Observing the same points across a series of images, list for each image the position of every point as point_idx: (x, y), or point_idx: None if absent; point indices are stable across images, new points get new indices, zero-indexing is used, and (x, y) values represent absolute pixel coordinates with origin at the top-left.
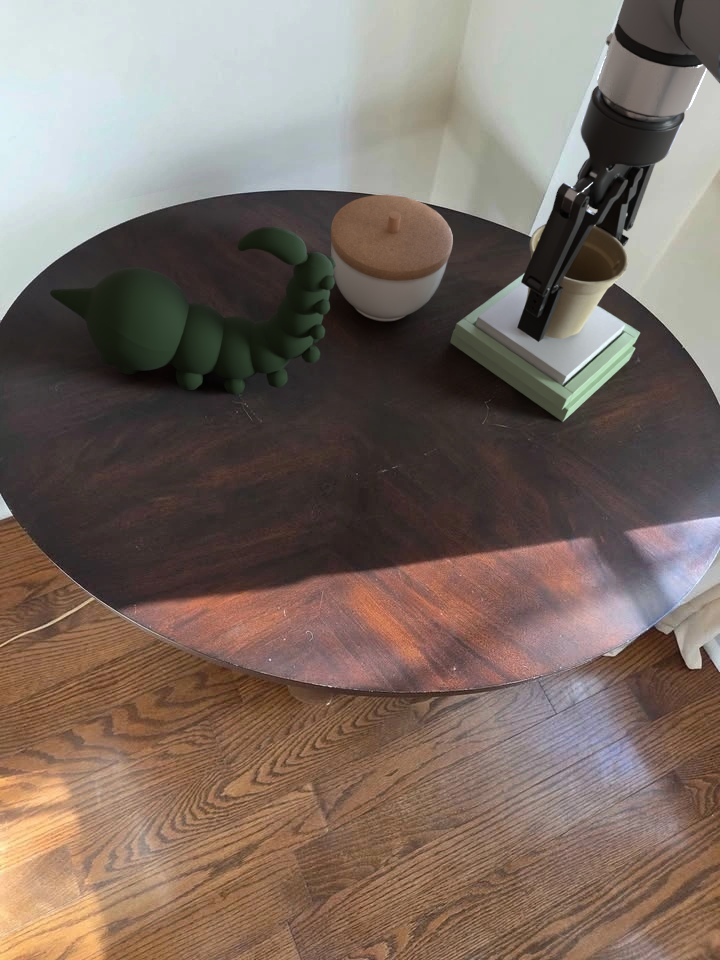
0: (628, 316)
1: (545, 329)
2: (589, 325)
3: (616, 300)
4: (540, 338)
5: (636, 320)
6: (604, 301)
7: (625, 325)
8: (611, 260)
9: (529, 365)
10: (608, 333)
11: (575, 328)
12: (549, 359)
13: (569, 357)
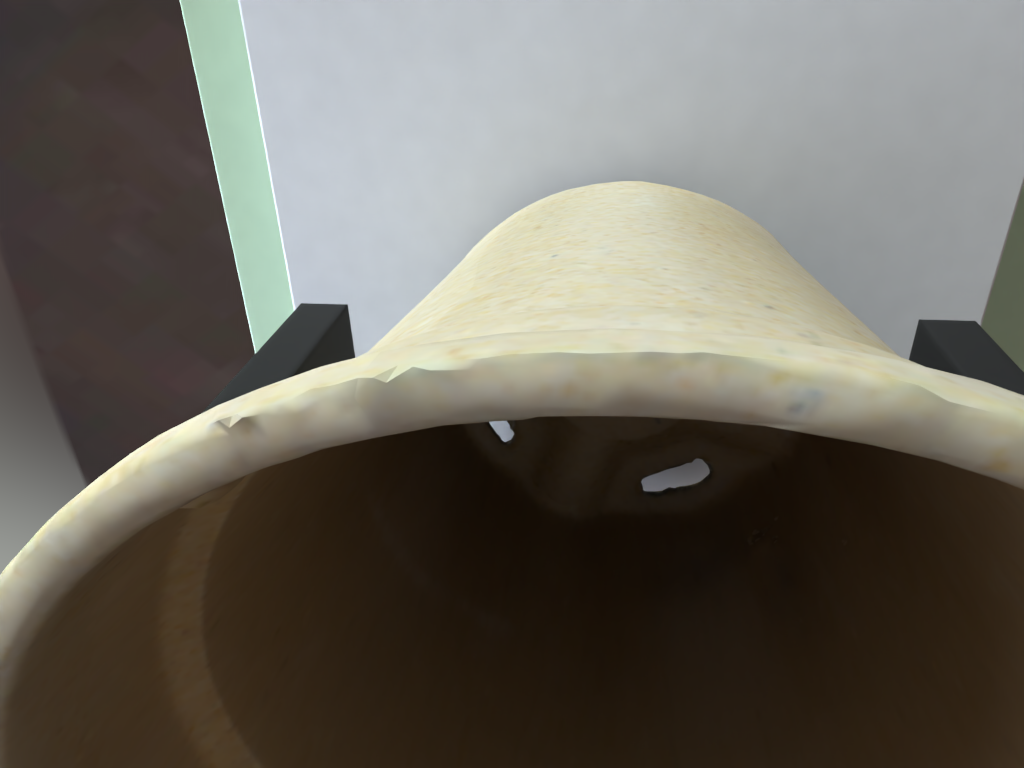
0: (38, 92)
1: (974, 366)
2: (464, 174)
3: (23, 202)
4: (977, 333)
5: (16, 42)
6: (84, 239)
7: (200, 11)
8: (185, 529)
9: (1009, 240)
10: (420, 28)
11: (726, 215)
12: (975, 176)
13: (862, 85)
